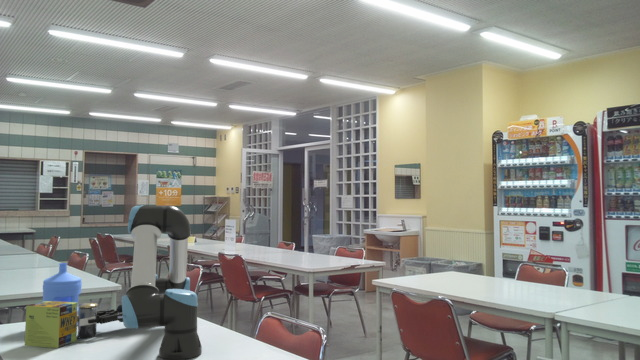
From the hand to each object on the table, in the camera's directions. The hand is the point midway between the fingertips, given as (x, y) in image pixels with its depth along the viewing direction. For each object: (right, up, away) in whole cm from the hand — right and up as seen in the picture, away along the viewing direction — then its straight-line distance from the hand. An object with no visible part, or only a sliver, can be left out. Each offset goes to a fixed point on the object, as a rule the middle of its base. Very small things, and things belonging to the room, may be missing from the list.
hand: (75, 321), depth 202 cm
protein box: (-6, -7, -7) cm, 12 cm away
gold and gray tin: (+3, -7, +3) cm, 9 cm away
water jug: (-16, -8, +20) cm, 27 cm away
